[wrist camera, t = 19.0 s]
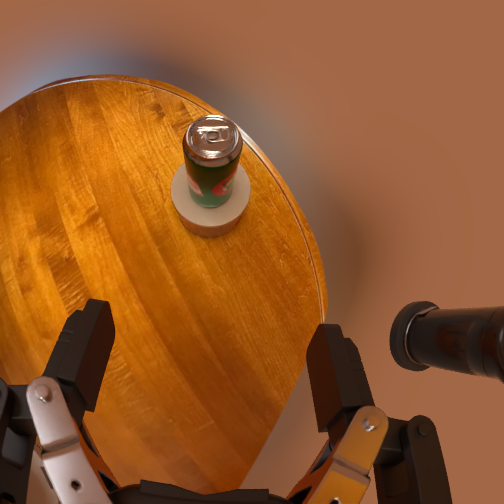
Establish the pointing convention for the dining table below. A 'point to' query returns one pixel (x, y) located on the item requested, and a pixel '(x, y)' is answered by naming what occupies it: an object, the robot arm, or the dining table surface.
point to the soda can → (211, 159)
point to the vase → (40, 482)
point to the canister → (210, 218)
